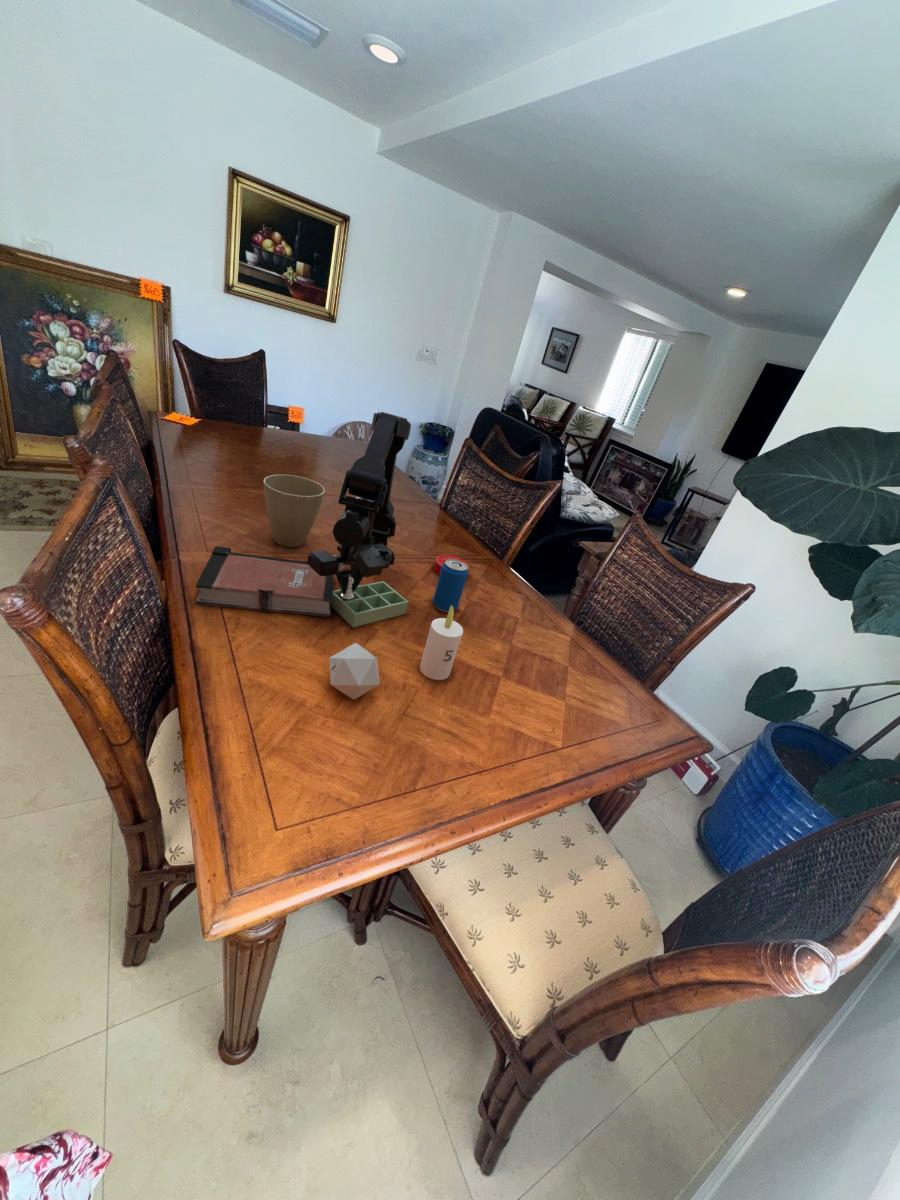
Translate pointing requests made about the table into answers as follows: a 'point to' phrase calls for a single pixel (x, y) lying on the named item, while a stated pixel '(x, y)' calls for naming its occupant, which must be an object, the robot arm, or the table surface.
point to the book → (263, 584)
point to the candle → (441, 647)
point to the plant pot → (291, 507)
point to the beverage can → (450, 585)
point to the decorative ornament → (441, 561)
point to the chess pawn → (349, 590)
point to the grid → (369, 604)
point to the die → (354, 671)
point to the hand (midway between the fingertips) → (347, 592)
